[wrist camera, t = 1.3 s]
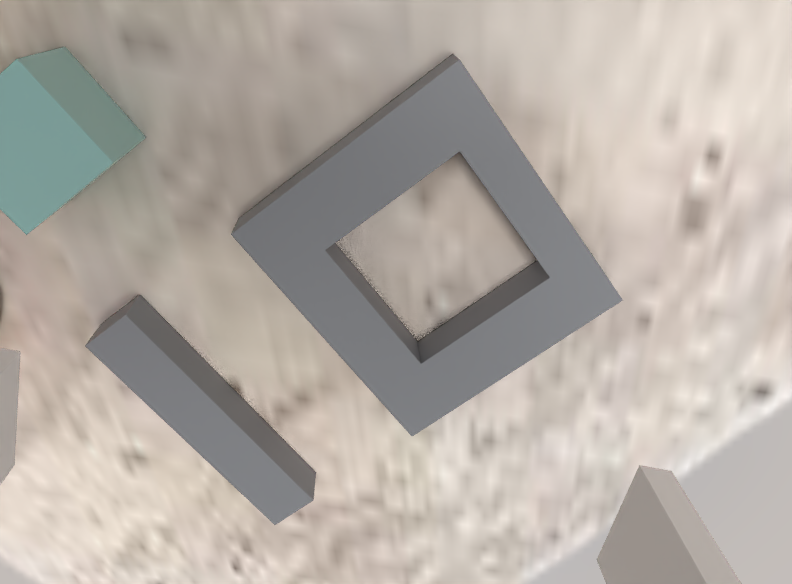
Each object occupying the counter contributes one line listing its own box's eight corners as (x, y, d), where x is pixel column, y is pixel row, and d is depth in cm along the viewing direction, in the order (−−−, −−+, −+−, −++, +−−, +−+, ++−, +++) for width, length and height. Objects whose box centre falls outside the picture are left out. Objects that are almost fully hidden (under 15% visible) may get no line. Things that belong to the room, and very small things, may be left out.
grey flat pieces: (101, 324, 38) (84, 346, 35) (452, 53, 33) (459, 59, 31) (279, 496, 42) (275, 525, 40) (607, 281, 38) (622, 300, 36)
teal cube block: (-13, 115, 33) (-72, 138, 29) (65, 46, 32) (16, 58, 28) (69, 200, 35) (26, 235, 30) (146, 137, 34) (113, 163, 29)
